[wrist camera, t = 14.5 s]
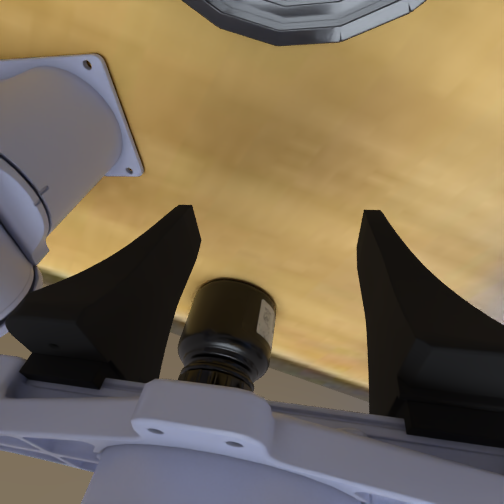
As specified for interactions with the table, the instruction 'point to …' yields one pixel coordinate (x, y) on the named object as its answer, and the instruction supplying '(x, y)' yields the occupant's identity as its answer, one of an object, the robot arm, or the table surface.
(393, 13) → the pan
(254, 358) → the ink bottle
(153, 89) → the table surface
